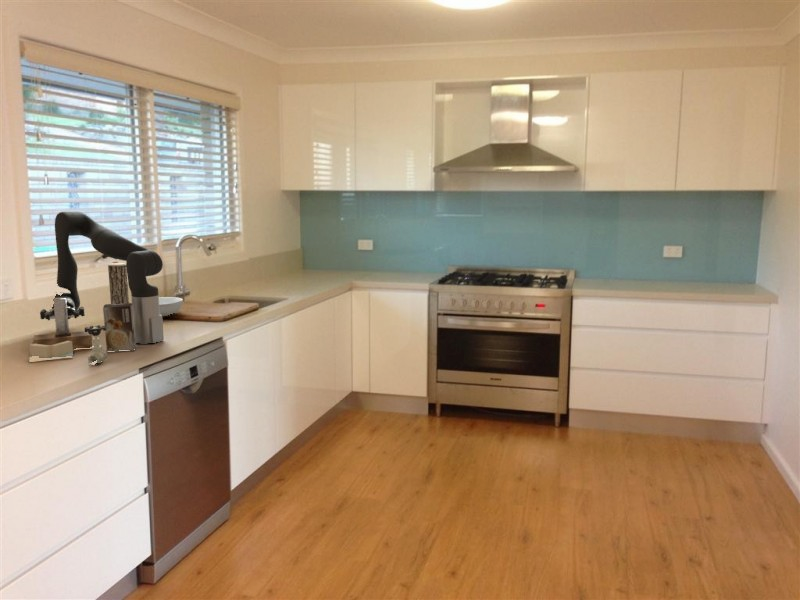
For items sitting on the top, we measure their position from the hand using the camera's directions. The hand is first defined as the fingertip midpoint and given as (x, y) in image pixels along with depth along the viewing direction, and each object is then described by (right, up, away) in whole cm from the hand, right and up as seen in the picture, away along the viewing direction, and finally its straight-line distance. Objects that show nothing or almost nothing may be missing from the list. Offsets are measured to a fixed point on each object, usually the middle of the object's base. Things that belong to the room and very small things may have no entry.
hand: (62, 316), depth 240 cm
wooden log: (+5, -5, +39) cm, 40 cm away
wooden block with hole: (+1, -11, -1) cm, 12 cm away
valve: (+22, -15, -20) cm, 33 cm away
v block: (+2, -13, -11) cm, 18 cm away
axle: (+1, -11, -1) cm, 12 cm away
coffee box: (+22, -12, -3) cm, 25 cm away
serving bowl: (+14, -1, +57) cm, 59 cm away
